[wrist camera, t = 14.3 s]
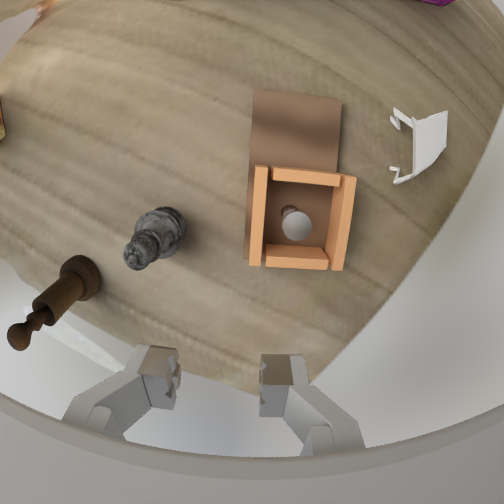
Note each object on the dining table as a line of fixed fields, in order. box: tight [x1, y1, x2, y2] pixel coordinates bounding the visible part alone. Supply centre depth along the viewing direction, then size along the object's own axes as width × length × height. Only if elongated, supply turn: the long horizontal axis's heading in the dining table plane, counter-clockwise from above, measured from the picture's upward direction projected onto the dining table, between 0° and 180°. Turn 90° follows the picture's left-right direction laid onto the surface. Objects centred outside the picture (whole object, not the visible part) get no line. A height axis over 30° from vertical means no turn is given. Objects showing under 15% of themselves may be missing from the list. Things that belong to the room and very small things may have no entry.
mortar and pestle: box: [7, 255, 101, 351], centre depth 29 cm, size 7×6×18 cm
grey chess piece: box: [123, 207, 186, 271], centre depth 29 cm, size 6×6×12 cm
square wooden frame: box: [249, 165, 357, 271], centre depth 31 cm, size 10×10×4 cm
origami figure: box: [390, 107, 448, 185], centre depth 29 cm, size 12×8×5 cm
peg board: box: [243, 89, 342, 260], centre depth 29 cm, size 20×10×8 cm, turn 176°
